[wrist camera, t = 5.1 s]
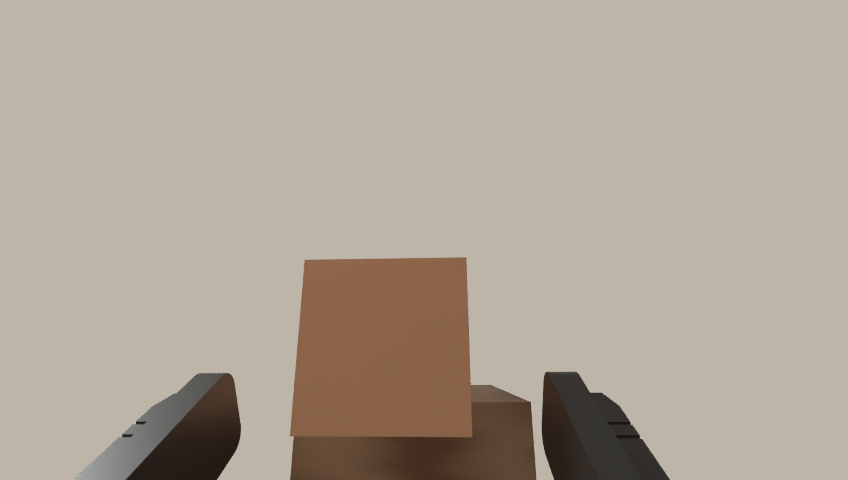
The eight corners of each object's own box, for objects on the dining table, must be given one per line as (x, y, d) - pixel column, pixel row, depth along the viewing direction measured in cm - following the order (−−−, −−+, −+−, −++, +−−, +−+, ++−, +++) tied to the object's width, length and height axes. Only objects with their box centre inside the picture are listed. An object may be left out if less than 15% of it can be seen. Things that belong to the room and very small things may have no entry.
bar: (452, 385, 33) (451, 333, 34) (472, 437, 9) (466, 257, 10) (402, 385, 33) (403, 333, 34) (290, 435, 9) (304, 259, 10)
